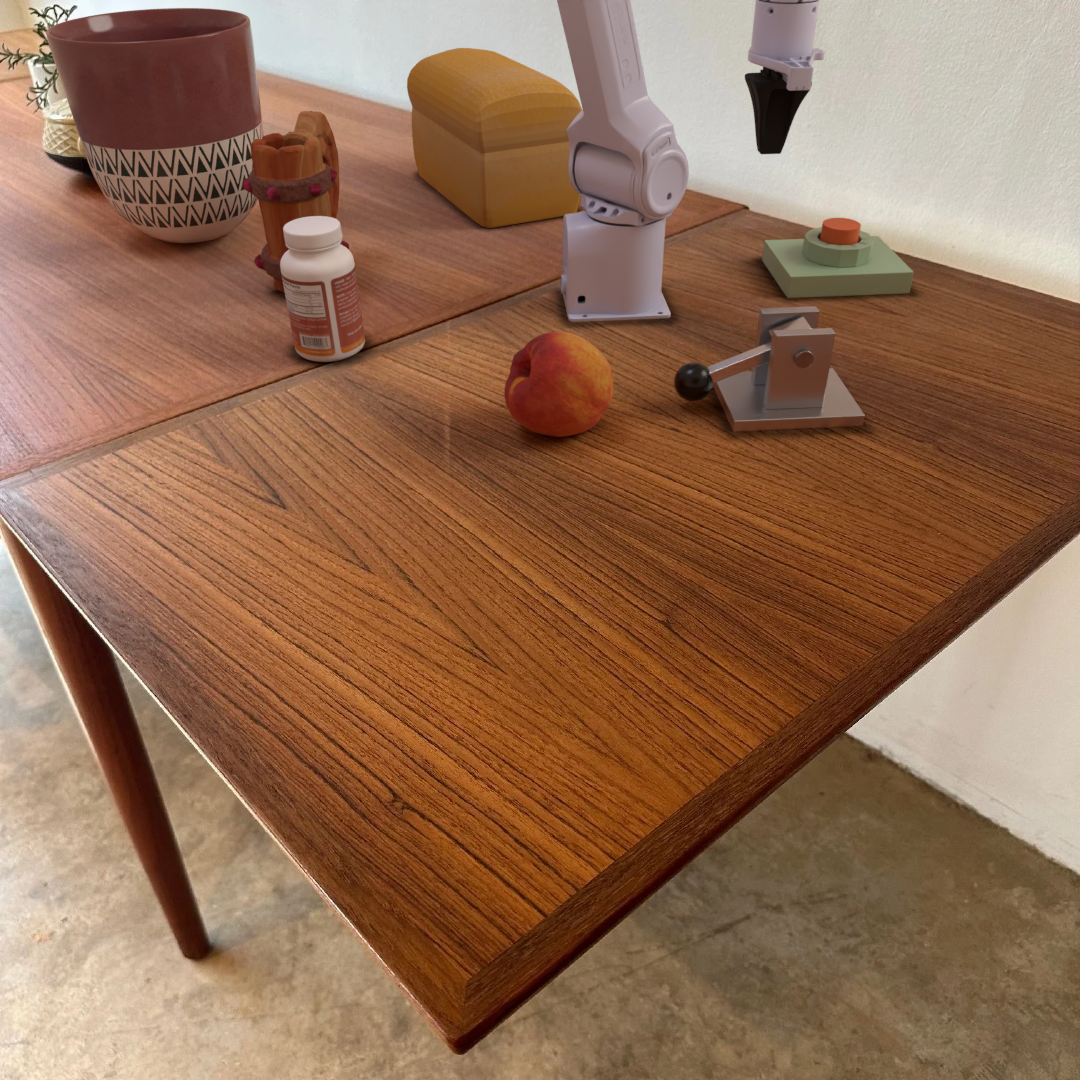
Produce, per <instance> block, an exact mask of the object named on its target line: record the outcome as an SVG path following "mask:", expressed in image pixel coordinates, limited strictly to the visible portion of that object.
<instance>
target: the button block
mask: <svg viewBox="0 0 1080 1080" xmlns="http://www.w3.org/2000/svg"><path fill="white" fill-rule="evenodd" d="M821 230H822V226H819V227H816V228H812V229H809V230H808V231H807V232H806V233H805V235H804V237H803V238H790V239H789V238H788V239H785V238H784V239H765V240H764V241H763V242H764V243H763V248H762V256H761V262H763V264H764V266H765V267H766V268H767V270H768V271H769V273H770V274H771V276H772V278H773V279H774V281H775V282H776V283H777V285H778V286H779V288H780V289H781V291H782V293H783V294H784V295H785V297H786V298H787V299H794V298H795V299H796V298H821V297H824V298H825V297H845V296H846V297H847V296H849V297H850V296H873V295H897V294H898V295H899V294H900V295H901V294H910V292H911V287H912V282H913V278H914V273H915V272H914V270H913V269H912V268H911V267H910V266H909V265H907V263H906V262H905V261H904V260H903V259H902V258H901V257H900V256H899V255H897V254H896V252H895V251H894V250H893V249H892V248H891V246H889V245H888V244H887V243H886V242H885V241H884V240H883V239H882V238H881V237H880V236H879V235H871V234H870V233H868V232H865V231H863V230H860V233H859V238H858V243H856V244H853V245H834V244H828V243H825V242H823V241H820V237H821Z"/></svg>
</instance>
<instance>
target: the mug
mask: <svg viewBox="0 0 1080 1080" xmlns="http://www.w3.org/2000/svg"><path fill="white" fill-rule="evenodd" d="M251 156H252V162H253V168H254V169H253V170H252V171H251V173H250V175H249V178H247V179H245V180H244V181H243V184H242V186H243V189H245V190H246V191H248V192H250V193H252V194H253V195H254V196H255V197H256V198H258V200H257V202H258V205H259V210H260V215H261V218H262V224H263V230H264V235H265V240H266V243H265V245H264V246H263V248H262V249H261V252H260V254H258V255H257V256H254V260H253V263H254V265H255V267H257V268H258V269H260V270H262V271H265V273H266V274H267V275H268V276H270V277H271V278H272V279H273V280H272V281H273V284H274V288H275V289H276V290H278V291H279V292H281V293H284V294H285V291H284V286H283V280H282V275H281V268H280V261H281V258H282V256H283V255H284V253H285V252H286V251H288V250H289V248H287V247H286V243H285V239H284V232H283V227H284V225H285V224H287V223H288V222H290V221H292V220H295V219H298V218H303V217H310V216H326V217H332V218H335V219H337V218H338V210H339V203H340V202H339V201H340V185H341V183H340V160H339V151H338V147H337V143H336V140H335V135H334V132H333V130H332V127H331V125H330V123H329V120H328V119H327V116H326V114H324V113H323V112H321V111H313V110H309V111H308V110H302V111H300V112H299V114H298V115H297V119H296V122H295V126H294V130H293V131H289V132H288V133H286V134H284V135H283V134H281V133H279V132H273V133H269V134H265V135H264V137H263V138H262V139H255V140H254V141H253V142H252V145H251ZM337 220H338V219H337ZM340 244H341V245H343V246H345V247H346V248H347V249H348V250H349V251H350V245H349V243H348V242H347V241H346V240H342V241H341V243H340Z"/></svg>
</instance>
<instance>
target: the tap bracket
mask: <svg viewBox="0 0 1080 1080" xmlns="http://www.w3.org/2000/svg"><path fill="white" fill-rule="evenodd" d="M758 312H759V313H758V321H757V328H756V336H755V343H754V348H756V347H759V346H761V345H764V344H767V343H769V342H772V343H771V350H770V358H769V362H767V363H765V364H762V365H760V366H757V367H755V368H752V369H751V370H750V371H749V370H747V371H744V372H742V373H739V374H737V375H734V376H732V377H729V378H726V379H724V380H721V381H719V382H716V383H714V384H713V387H712V389H713V390H714V392H715V394H716V397H717V398H718V401H719V403H720V405H721V408H722V410H723V412H724V414H725V416H726V419H727V422H728V423H729V425H730V426H729V427H731V430H732V432H733V433H737V432H738V433H739V432H759V431H780V430H782V431H783V430H800V429H802V430H804V429H825V428H844V427H845V428H846V427H863V426H864V421H865V415H866V414H865V413H864V412H863V410H862V408H861V407H860V406H859V404H858V403H857V401H856V400H855V398H854V397H853V395H852V394H851V392H850V390H849V389H848V388H847V387H846V384H844V382H843V380H842V379H841V378H840V376H839V375H838V373H837V371H836V370H835V368H833V367H831V361H832V358H833V357H832V356H833V351H834V344H835V340H836V332H835V330H834V329H833V327H821V328H818V323H819V317H820V309H819V308H818V307H817V306H816V305H811V306H784V307H760V308H759V311H758ZM801 317H804V318H805V319H806V321H807V322H808V324H809V325H810V327H811V328H812V329H794V330H773V336H772V341H771V338H770V334H769V330H771V329H773V328H776V327H778V326H781V325H783V324H786V323H788V322H791V321H793V320H796V319H798V318H801Z"/></svg>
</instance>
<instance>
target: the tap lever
mask: <svg viewBox="0 0 1080 1080" xmlns="http://www.w3.org/2000/svg"><path fill="white" fill-rule="evenodd" d="M794 329H812V328H811V327H810V325H809V324H808V322H807V321H806V319H805V318H804V317H801V318H798V319H796V320H793V321H791V322H788V323H786V324H783V325H781V326H778V327H776V328H773V329H771V330H769V334H770V338H771V341H772V336H773V330H794ZM771 343H772V342H769V343H767V344H764V345H761V346H759V347H756V348H755V347H754V348H751V349H749V350H746V351H744V352H741V353H739V354H736V355H734V356H730V357H729V358H726V359H724V360H721V361H719V362H716V363H713V364H711V365H708V366H706V365H705V364H703V363H701V362H697V361H691V362H687V363H685V364H683V365H681V366H680V367H679V369H678V370H677V371H676V372H675V375H674V379H673V386H674V389H675V392H676V394H677V395H678V396H679V397H680V398H682V399H683V400H685V401H688V402H698V401H701V400H703V399H705V398H707V396H708V395H709V394H710V393H711V392H712V390H713V384H714V383H716V382H719V381H721V380H724V379H726V378H729V377H732V376H734V375H737V374H739V373H742V372H748V371H749V370H752V368H755V367H757V366H760V365H762V364H765V363H767V362H769V358H770V350H771Z"/></svg>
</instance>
